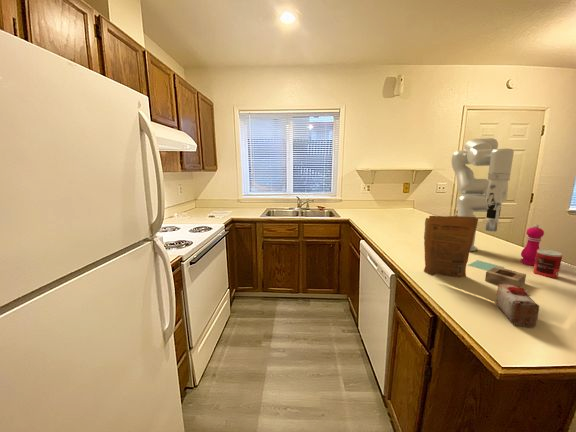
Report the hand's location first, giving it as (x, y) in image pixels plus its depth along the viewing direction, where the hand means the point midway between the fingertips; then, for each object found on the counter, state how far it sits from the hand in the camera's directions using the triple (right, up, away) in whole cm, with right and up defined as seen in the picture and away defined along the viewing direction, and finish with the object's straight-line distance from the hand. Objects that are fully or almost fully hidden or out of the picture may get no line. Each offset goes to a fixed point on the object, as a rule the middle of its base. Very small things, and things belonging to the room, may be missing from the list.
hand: (492, 217), depth 113 cm
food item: (-19, -33, -31) cm, 49 cm away
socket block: (-4, -28, -11) cm, 30 cm away
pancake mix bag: (-23, -27, -2) cm, 36 cm away
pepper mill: (+25, -23, +9) cm, 36 cm away
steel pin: (0, -6, +1) cm, 6 cm away
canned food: (+20, -26, -4) cm, 33 cm away
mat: (+1, -25, +5) cm, 25 cm away
